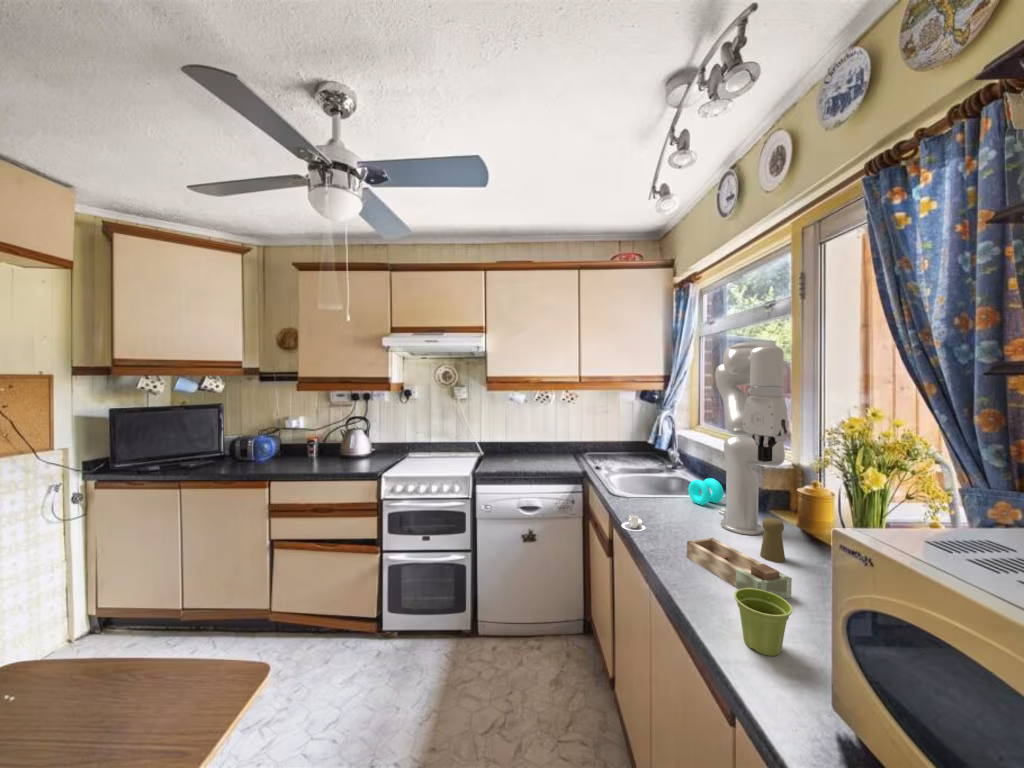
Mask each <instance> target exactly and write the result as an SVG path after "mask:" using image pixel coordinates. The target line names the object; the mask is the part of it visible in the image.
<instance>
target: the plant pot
mask: <svg viewBox="0 0 1024 768" xmlns="http://www.w3.org/2000/svg"><path fill="white" fill-rule="evenodd" d="M733 597H734V600H735V602H736V603H737V604H736V605H737V607H738V609H739V615H740V622H741V630H742V631H741V632H742V638H743V641H744V643H745V645H746V646H747V647H748V649H753V650H755V651H756V652H758V654H761V655H765V656H771V657H774V656H778V655H779V654H780V653H781V652H782V648H783V644H784V638H785V632H786V627H787V621H788V620H789V619H790V616H791V615H792V614H793V606H792V605H791V603H789V601H787V599H783V598H781V597H780V596H778V595H775V594H773V593H770V592H767V591H764V590H760V589H753V588H743V589H737V590H735V591H734V594H733Z"/></svg>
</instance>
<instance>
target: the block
mask: <svg viewBox="0 0 1024 768" xmlns="http://www.w3.org/2000/svg"><path fill="white" fill-rule="evenodd" d="M779 572H780V571H779V570H778V569H775V568H773V567H771V566H769V565H768V564H765V563H763V564H759V565H753V566H751V574H752V575H754V576H755V577H757V578H759V579H761V580H763V581H764V580H769V579H775V578H779Z"/></svg>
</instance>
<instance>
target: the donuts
mask: <svg viewBox="0 0 1024 768" xmlns="http://www.w3.org/2000/svg"><path fill="white" fill-rule="evenodd" d="M687 489H688V490H687V491H688V495H689V497H690V499H691V501H692V502H693V503H695V504H696V503H697V504H696V505H698V504H700V505H699V506H705V505H707V504H708V503H711V502H713V503H712V504H718V503H720V502H721V501H722V500H723V498H724V494H725V493H724V488H723V486H722V484H721V483H720V481H718V480H716V479H715V478H712V477H711V478H710V477H708V478H705V479H704V480H701V479H694V480H692V481H691V482H690V483H689V484H688V488H687ZM710 489H711V490H710ZM700 491H701V492H700ZM709 501H710V502H709Z"/></svg>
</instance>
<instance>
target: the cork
mask: <svg viewBox="0 0 1024 768" xmlns="http://www.w3.org/2000/svg"><path fill="white" fill-rule="evenodd" d="M761 524H762V525H761V526H762V527H763V536H762V543H761V547H760V553H759V555H760V557H761V558H762V559H764V560H766V561H768V562H772V563H778V564H779V563H785V562H786V557H785V556H786V555H785V548H784V543H783V534H782V533H783V532H784V531H785V526H784V523H783V521H781V520H779V519H778V518H772V517H766V518H764V519H763V520H762V523H761Z"/></svg>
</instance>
